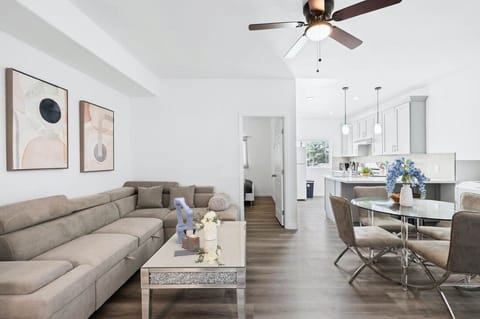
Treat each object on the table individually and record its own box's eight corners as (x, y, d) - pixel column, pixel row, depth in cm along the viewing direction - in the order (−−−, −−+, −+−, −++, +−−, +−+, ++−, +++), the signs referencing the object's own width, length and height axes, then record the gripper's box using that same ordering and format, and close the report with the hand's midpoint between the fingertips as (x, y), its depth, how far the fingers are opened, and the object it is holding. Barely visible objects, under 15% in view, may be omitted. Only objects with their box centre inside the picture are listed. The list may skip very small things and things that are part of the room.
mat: (174, 251, 232) (174, 250, 232) (206, 248, 238) (206, 248, 238) (174, 256, 218) (174, 256, 218) (207, 253, 224) (207, 253, 224)
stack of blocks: (181, 247, 242) (181, 233, 243) (187, 245, 247) (187, 232, 247) (193, 252, 226) (193, 237, 227) (200, 250, 230) (199, 236, 231)
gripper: (181, 224, 238) (181, 239, 239) (197, 223, 242) (197, 238, 242) (181, 222, 245) (181, 237, 245) (197, 222, 248) (197, 236, 249)
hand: (189, 237), depth 244 cm, fingers open, 6 cm apart
